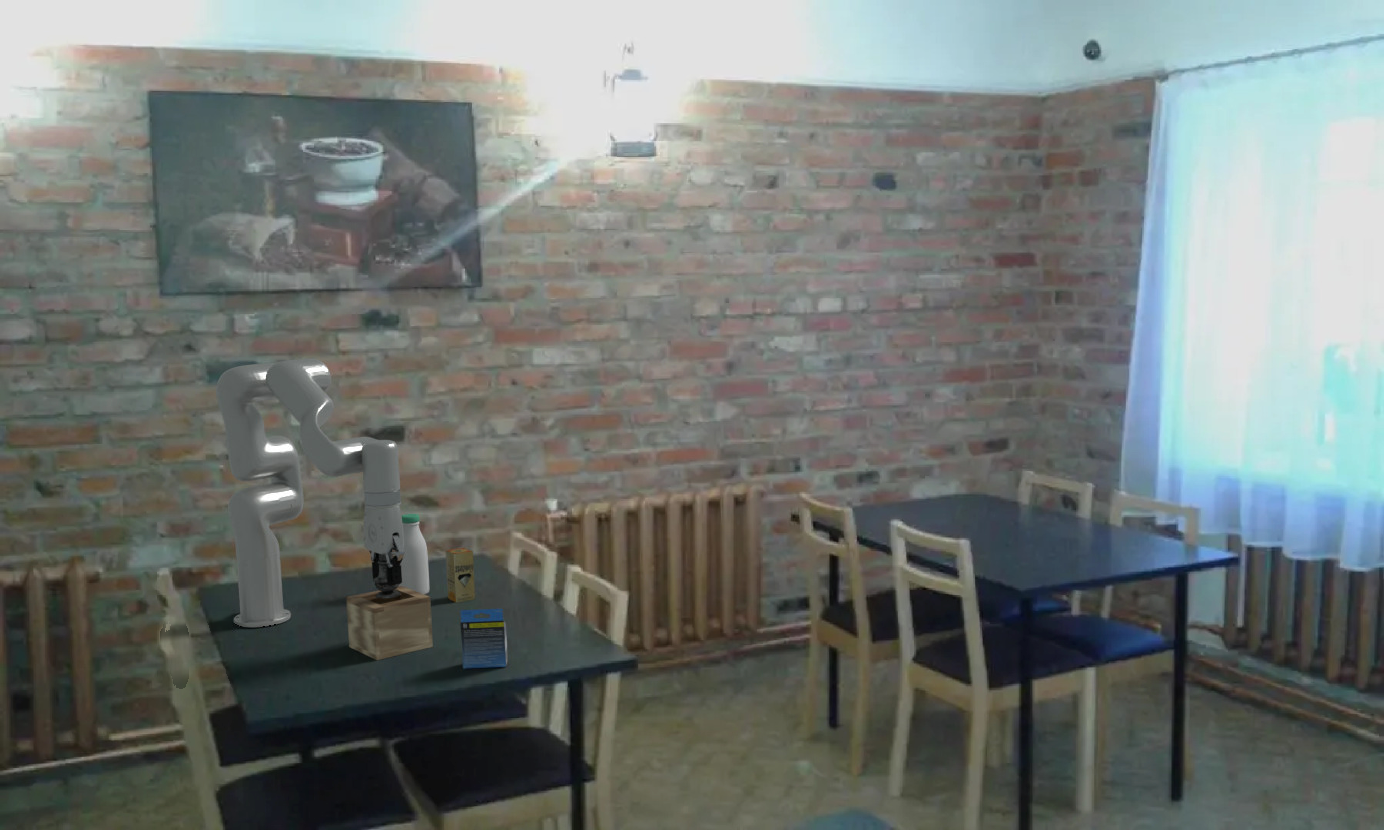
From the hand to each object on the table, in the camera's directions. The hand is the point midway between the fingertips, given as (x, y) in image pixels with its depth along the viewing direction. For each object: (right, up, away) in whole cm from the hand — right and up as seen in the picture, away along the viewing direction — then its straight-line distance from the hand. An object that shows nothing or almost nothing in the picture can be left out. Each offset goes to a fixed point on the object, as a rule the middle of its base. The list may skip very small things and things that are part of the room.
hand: (387, 581), depth 265 cm
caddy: (0, -14, +2) cm, 15 cm away
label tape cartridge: (+23, -16, -12) cm, 30 cm away
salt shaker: (0, -3, 0) cm, 3 cm away
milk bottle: (-4, -9, +46) cm, 47 cm away
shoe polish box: (+9, -10, +40) cm, 42 cm away
